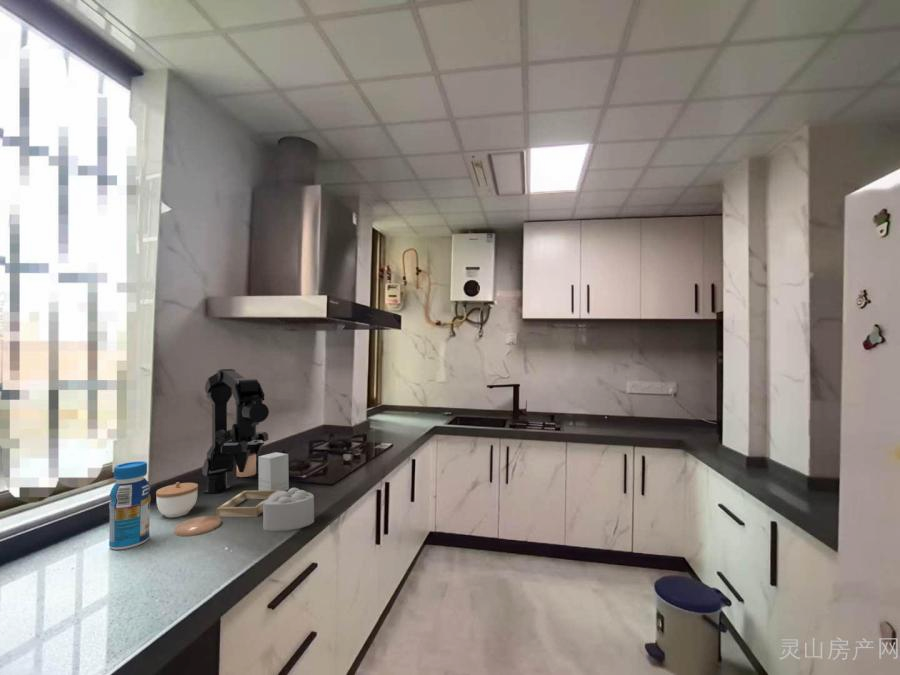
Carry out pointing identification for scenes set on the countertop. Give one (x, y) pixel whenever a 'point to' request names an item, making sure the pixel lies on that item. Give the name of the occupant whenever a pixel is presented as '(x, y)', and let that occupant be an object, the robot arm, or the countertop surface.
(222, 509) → the wooden frame
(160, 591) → the countertop surface
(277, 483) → the supplement box
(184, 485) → the lidded jar
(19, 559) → the countertop surface
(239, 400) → the robot arm
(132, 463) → the beverage bottle
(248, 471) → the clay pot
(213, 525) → the terracotta saucer
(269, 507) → the lumpy-topped squat cylinder
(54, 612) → the countertop surface
